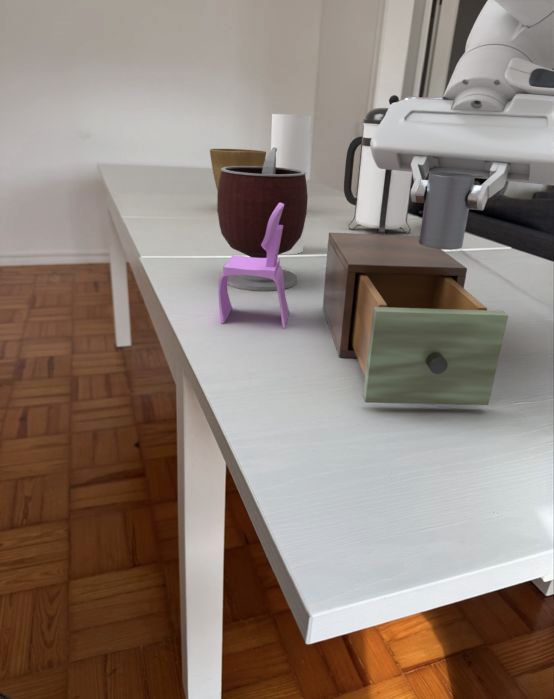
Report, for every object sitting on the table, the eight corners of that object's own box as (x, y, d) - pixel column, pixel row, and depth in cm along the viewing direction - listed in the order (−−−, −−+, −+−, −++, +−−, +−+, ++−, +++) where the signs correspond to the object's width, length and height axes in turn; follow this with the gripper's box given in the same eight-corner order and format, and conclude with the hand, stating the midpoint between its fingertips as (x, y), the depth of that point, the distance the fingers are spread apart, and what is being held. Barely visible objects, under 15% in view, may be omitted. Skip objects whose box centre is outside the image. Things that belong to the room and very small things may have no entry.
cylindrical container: (276, 244, 114) (282, 114, 104) (308, 249, 111) (317, 115, 102) (260, 251, 108) (265, 113, 98) (293, 256, 105) (301, 115, 96)
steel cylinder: (453, 240, 59) (465, 173, 57) (468, 250, 55) (481, 178, 53) (413, 239, 59) (423, 171, 56) (425, 248, 55) (436, 176, 52)
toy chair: (227, 305, 77) (228, 195, 71) (289, 310, 76) (296, 199, 70) (215, 325, 69) (215, 204, 63) (284, 331, 69) (291, 209, 63)
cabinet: (450, 360, 63) (467, 268, 58) (339, 357, 62) (348, 264, 58) (412, 311, 78) (423, 235, 74) (322, 309, 77) (328, 232, 73)
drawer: (493, 411, 50) (514, 320, 46) (367, 409, 49) (379, 315, 46) (437, 341, 65) (450, 268, 62) (340, 338, 65) (348, 264, 61)
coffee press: (408, 227, 140) (426, 98, 128) (411, 239, 125) (431, 95, 114) (340, 222, 142) (351, 95, 131) (335, 233, 128) (348, 91, 116)
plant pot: (275, 213, 151) (278, 151, 145) (235, 218, 141) (236, 152, 135) (238, 205, 160) (239, 147, 154) (198, 209, 150) (197, 147, 144)
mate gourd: (295, 296, 82) (303, 155, 74) (206, 287, 84) (205, 149, 76) (308, 270, 96) (317, 149, 88) (231, 263, 98) (233, 144, 91)
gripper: (389, 74, 61) (344, 170, 57) (595, 76, 52) (558, 192, 48) (398, 118, 66) (357, 209, 62) (586, 128, 57) (551, 236, 53)
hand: (446, 202), depth 55 cm, fingers closed on steel cylinder, 4 cm apart
